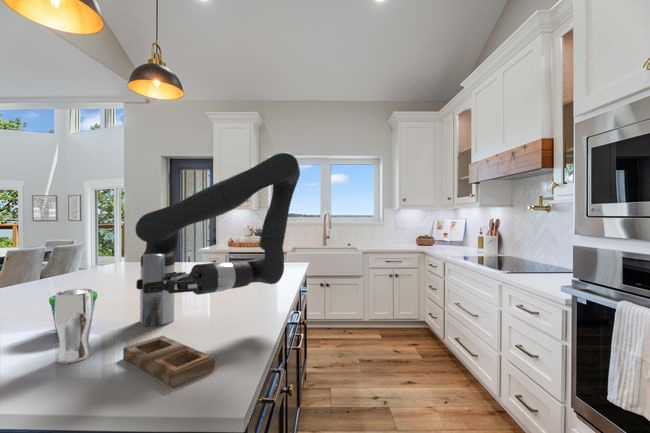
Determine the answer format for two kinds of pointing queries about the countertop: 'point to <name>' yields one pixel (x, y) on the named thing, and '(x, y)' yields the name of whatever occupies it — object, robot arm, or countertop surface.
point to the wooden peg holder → (169, 360)
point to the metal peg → (153, 301)
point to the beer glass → (73, 324)
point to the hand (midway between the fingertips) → (140, 286)
